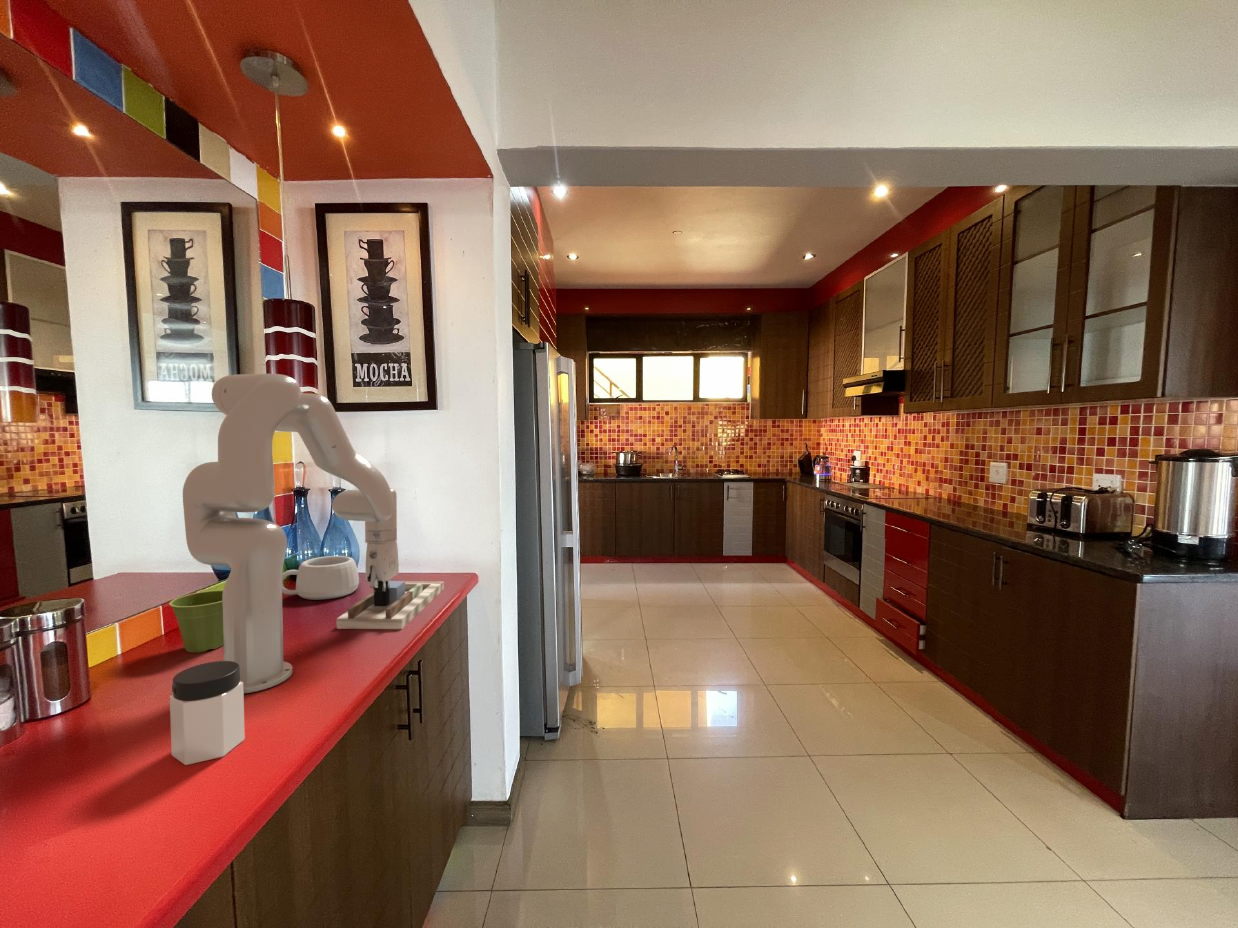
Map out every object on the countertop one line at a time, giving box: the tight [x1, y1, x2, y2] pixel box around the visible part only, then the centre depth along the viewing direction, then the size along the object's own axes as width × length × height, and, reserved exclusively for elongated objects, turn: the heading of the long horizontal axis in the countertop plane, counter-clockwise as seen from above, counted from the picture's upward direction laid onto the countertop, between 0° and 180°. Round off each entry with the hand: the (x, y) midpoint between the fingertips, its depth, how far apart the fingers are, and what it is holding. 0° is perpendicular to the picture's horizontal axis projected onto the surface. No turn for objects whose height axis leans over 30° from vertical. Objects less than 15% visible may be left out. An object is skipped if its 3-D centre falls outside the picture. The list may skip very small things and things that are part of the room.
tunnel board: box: [336, 580, 445, 630], centre depth 149 cm, size 34×16×5 cm, turn 1°
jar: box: [169, 660, 246, 766], centre depth 82 cm, size 9×8×12 cm
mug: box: [282, 555, 360, 601], centre depth 159 cm, size 21×17×10 cm
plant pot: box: [168, 589, 224, 654], centre depth 119 cm, size 12×12×11 cm
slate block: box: [374, 580, 406, 606], centre depth 145 cm, size 6×6×5 cm
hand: (381, 604), depth 139 cm, fingers closed
